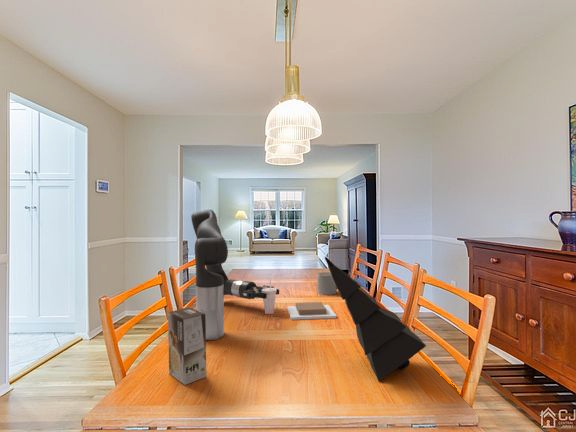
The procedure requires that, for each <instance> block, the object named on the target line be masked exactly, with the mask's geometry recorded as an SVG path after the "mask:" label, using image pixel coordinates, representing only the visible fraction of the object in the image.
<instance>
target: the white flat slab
mask: <svg viewBox="0 0 576 432" xmlns="http://www.w3.org/2000/svg"><path fill="white" fill-rule="evenodd" d="M286 307H287V308H286V309H287V312H288V315H289V318H290V321H299V320H301V321H302V320H320V319H321V320H325V319H337V314H336V313H335V312H334V311H333V309H332V307H330V305H329V304H323V302H321V301H315V302H314V301H313V302H311V301H310V302H309V301H308V302H306V301H305V302H295V305H287V306H286Z"/></svg>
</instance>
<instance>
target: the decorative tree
mask: <svg viewBox="0 0 576 432" xmlns="http://www.w3.org/2000/svg"><path fill="white" fill-rule="evenodd" d="M324 260H325V262H326V264H327V266H328V271H329V272H331V275H332V277H333V280H334V282H335V285H336V287H337V292H338V294H339V296H340V298H341V300H344V302H345V303H344V304H345V305H346V309H347V311H348V312H349V315H350V316H351V319H352V322H353V324H354V325H355V331H356V337H357V339H358V342H359V344H360V347H361V348H362V350H363V352H364V356H366V359H368V362H369V364H370V367H371V370H372V371H373V374H374V375H375V377H376V380H377V381H378V382H380V381H381V380H382V379H384V378H386V377H387V376H388V375H389V374H391V373H393V372H394V371H395V370H397V369H398V370H401V371H402V370H404V369H406V368H408V366H409V365H410V359H412V358H413V357H414V356H415V355H416V354H418V353H419V352H421V350H423V349H424V348H425V347H427V345H426V344H425V342H424V341H423V340H422V339H421V338H420V337H419V336H418V335H417V334H416V333H414V332H413V331H411V330H412V329H410V327H409V326H408V325H407V324H404V323H403V322H402V320H401V319H400V318H399V316H398V315H397V314H396V313H394V312H393V311H391V310H389V309H385V308H384V307H381V306H380V305H379V304H378V301H377V299H376V298H375V297H373V296H371V294H368V293H367V292H366V291H364V290H362V289H361V288H362V286H361V285H360V284H359V283H358V282H357V281H356V280H354V278H352V277H351V276H350V275H349V274H347V272H345V271H344V270H343V269H341V268H339V267H337V265H335V263H333V262H332V261H331V260H330V259H329V258H328V257H327V256H324Z"/></svg>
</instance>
